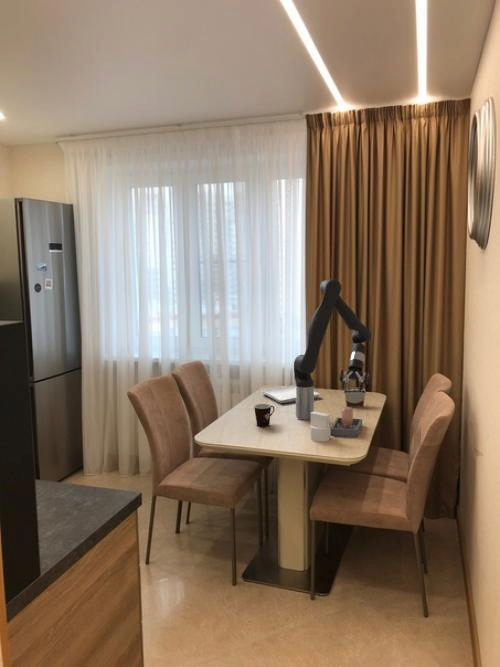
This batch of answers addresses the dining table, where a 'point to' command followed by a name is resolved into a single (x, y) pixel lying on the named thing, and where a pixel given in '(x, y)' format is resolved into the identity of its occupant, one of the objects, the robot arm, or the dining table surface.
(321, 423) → the cylinder with rectangular tab
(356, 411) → the dining table surface
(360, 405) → the food container
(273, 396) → the closed laptop
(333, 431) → the tray
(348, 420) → the tan upright block
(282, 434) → the dining table surface
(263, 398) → the dining table surface
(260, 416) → the coffee mug
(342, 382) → the robot arm
